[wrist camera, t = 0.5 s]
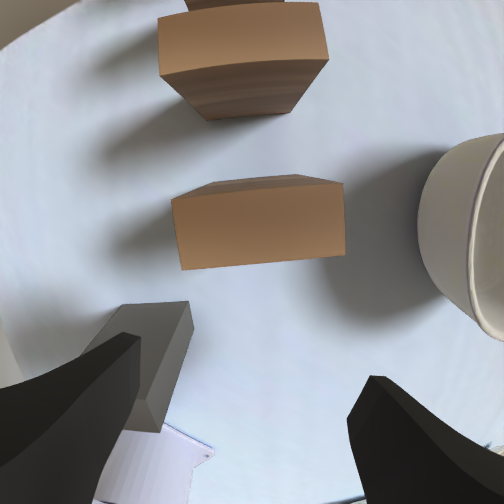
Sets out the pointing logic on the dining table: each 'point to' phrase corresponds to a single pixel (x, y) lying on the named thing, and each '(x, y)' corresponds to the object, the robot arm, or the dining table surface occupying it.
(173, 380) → the domino
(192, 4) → the domino
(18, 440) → the robot arm
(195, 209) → the domino
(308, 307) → the dining table surface
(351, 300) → the dining table surface
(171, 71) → the domino
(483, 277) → the teacup
